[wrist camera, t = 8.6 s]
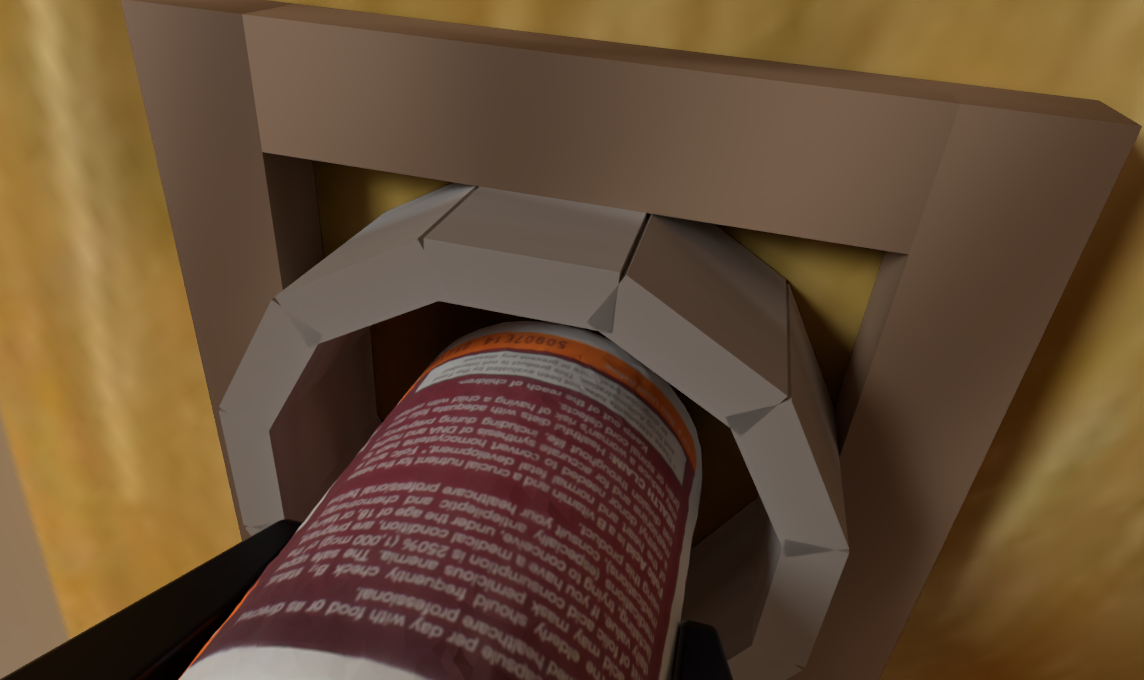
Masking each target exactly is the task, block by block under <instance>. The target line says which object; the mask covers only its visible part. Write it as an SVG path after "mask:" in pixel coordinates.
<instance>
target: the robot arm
mask: <svg viewBox="0 0 1144 680" xmlns="http://www.w3.org/2000/svg"><path fill="white" fill-rule="evenodd" d="M302 523H303V522H299V521H295V520H291V519H283V520H280V521H277V522H275V523H274V524H272V525H270V526H268V527H267V528H265V529H263V530H261V531H260V532H258V533H256V534H254V535H253V536H251V537H249V538H247V539H246V540H244V541H242V542H240V543H239V544H237V545H235V546H233V547H232V548H230V549H228V550H226V551H225V552H223V553H221V554H219V555H218V556H216V557H214V558H212V559H210V560H209V561H207V562H205V563H203V564H202V565H200V566H198V567H196V568H195V569H193V570H191V571H189V572H188V573H186V574H184V575H182V576H181V577H179V578H177V579H175V580H174V581H172V582H170V583H168V584H167V585H165V586H163V587H161V588H160V589H158V590H156V591H154V592H153V593H151V594H149V595H147V596H146V597H144V598H142V599H140V600H139V601H137V602H135V603H133V604H132V605H130V606H128V607H126V608H124V609H123V610H121V611H119V612H117V613H116V614H114V615H112V616H110V617H109V618H107V619H105V620H103V621H102V622H100V623H98V624H96V625H95V626H93V627H91V628H89V629H88V630H86V631H84V632H82V633H81V634H79V635H77V636H75V637H74V638H72V639H70V640H68V641H67V642H65V643H63V644H61V645H60V646H58V647H56V648H54V649H53V650H51V651H49V652H47V653H46V654H44V655H42V656H40V657H39V658H37V659H35V660H33V661H31V662H30V663H28V664H26V665H24V666H23V667H21V668H19V669H17V670H16V671H14V672H12V673H10V674H9V675H7V676H5V677H3V678H2V679H0V680H178V679H179V678H180V677H181V676H182V674H183V673H184V672H185V670H186V669H187V668H188V667H189V665H190V664H191V663H192V661H193V660H194V659H195V657H196V656H197V655H198V653H199V652H200V651H201V650H202V648H203V647H204V646H205V644H206V643H207V642H208V641H209V640H210V638H211V637H212V636H213V634H214V633H215V632H216V631H217V630H218V629H219V628H220V627H221V626H222V624H223V623H224V622H225V621H226V620H227V619H228V618H229V616H230V615H231V614H232V612H233V611H234V609H235V608H236V607H237V606H238V604H239V603H240V602H241V601H242V599H243V598H244V596H245V594H246V593H247V591H248V590H249V589H250V588H251V587H252V586H253V585H254V584H255V583H256V581H257V580H258V579H259V577H260V576H261V575H262V573H263V572H264V570H265V569H266V567H267V566H268V564H269V563H271V562H272V561H273V560H274V559H275V558H276V557H277V556H278V555H279V554H280V552H281V551H282V549H283V548H284V547H285V546H286V545H287V544H288V542H289V541H290V540H291V538H292V537H293V535H294V534H295V533H296V531H297V530H298V528H299V527H300V526H301V525H302ZM672 680H733V677H732V674H731V671H730V668H729V665H728V661H727V658H726V655H725V652H724V649H723V646H722V643H721V640H720V637H719V634H718V632H717V630H716V629H715V628H714V627H713V626H711V625H708V624H704V623H700V622H696V621H692V620H683V621H682V622H681V624H680V628H679V634H678V640H677V647H676V653H675V660H674V666H673V674H672Z"/></svg>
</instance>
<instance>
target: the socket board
mask: <svg viewBox="0 0 1144 680" xmlns="http://www.w3.org/2000/svg"><path fill="white" fill-rule="evenodd" d="M121 3H122V7H123V12H124V16H125V21H126V25H127V30H128V34H129V39H130V43H131V48H132V52H133V57H134V61H135V65H136V70H137V74H138V79H139V83H140V88H141V92H142V97H143V101H144V106H145V110H146V114H147V119H148V123H149V128H150V132H151V137H152V141H153V146H154V150H155V155H156V159H157V164H158V168H159V172H160V177H161V181H162V186H163V190H164V195H165V199H166V204H167V208H168V213H169V217H170V222H171V226H172V230H173V235H174V239H175V244H176V248H177V253H178V257H179V262H180V266H181V271H182V275H183V279H184V284H185V288H186V293H187V297H188V302H189V306H190V311H191V315H192V320H193V324H194V329H195V333H196V337H197V342H198V346H199V351H200V355H201V360H202V364H203V369H204V373H205V378H206V382H207V387H208V391H209V395H210V400H211V404H212V409H213V413H214V418H215V422H216V427H217V431H218V436H219V440H220V444H221V449H222V453H223V458H224V462H225V467H226V471H227V476H228V480H229V485H230V489H231V494H232V498H233V502H234V507H235V511H236V516H237V520H238V525H239V529H240V534H241V538H242V541H244V540H246V539H247V538H249V537H251V536H253V535H254V534H256V533H258V532H260V531H261V530H263V529H265V528H267V527H268V526H270V525H272V524H274V523H275V522H277V521H280V520H283V519H291V520H295V521H299V522H304V521H305V520H306V518H307V517H308V516H309V514H310V513H311V512H312V510H313V509H314V508H315V507H316V505H317V504H318V503H319V502H320V500H321V499H322V498H323V496H324V495H325V494H326V493H327V491H328V490H329V489H330V487H331V486H332V485H333V484H334V483H335V481H336V480H337V479H338V477H339V476H340V475H341V474H342V473H343V472H344V470H345V469H346V468H347V467H348V466H349V465H350V463H351V462H352V461H353V459H354V458H355V457H356V456H357V454H358V453H359V452H360V450H361V449H362V448H363V447H364V446H365V444H366V443H367V441H368V440H369V438H370V437H371V436H372V434H373V433H374V431H375V430H376V428H377V427H378V426H379V425H380V424H381V423H382V421H381V420H380V418H379V417H378V415H377V407H376V395H375V382H374V370H373V357H372V345H371V332H370V327H371V326H372V325H373V324H376V323H378V322H381V321H384V320H387V319H390V318H392V317H395V316H398V315H401V314H404V313H406V312H409V311H412V310H415V309H418V308H420V307H423V306H426V305H429V304H432V303H434V302H437V301H442V302H447V303H452V304H458V305H463V306H468V307H474V308H479V309H484V310H490V311H495V312H500V313H506V314H511V315H516V316H522V317H527V318H532V319H538V320H543V321H548V322H554V323H559V324H564V325H570V326H575V327H580V328H586V329H591V330H596V331H599V332H600V333H602V334H603V335H605V336H606V337H607V338H609V339H610V340H611V341H613V342H614V343H615V344H617V345H618V346H620V347H621V348H622V349H624V350H625V351H626V352H628V353H629V354H630V355H632V356H633V357H634V358H636V359H637V360H639V361H640V362H641V363H643V364H644V365H645V366H647V367H648V368H649V369H651V370H652V371H653V372H655V373H656V374H658V375H659V376H660V377H662V378H663V379H664V380H666V381H667V382H668V383H670V384H671V385H672V386H674V387H675V388H677V389H678V390H679V391H681V392H682V393H683V394H685V395H686V396H687V397H689V398H690V399H691V400H693V401H694V402H696V403H697V404H698V405H700V406H701V407H702V408H704V409H705V410H706V411H708V412H709V413H711V414H712V415H713V416H715V417H716V418H717V419H719V420H720V421H721V422H723V423H724V424H725V425H727V426H728V427H730V428H731V431H732V433H733V435H734V438H735V440H736V442H737V445H738V447H739V449H740V452H741V454H742V456H743V458H744V461H745V463H746V465H747V468H748V470H749V472H750V475H751V477H752V479H753V481H754V484H755V486H756V488H757V491H758V493H759V494H758V497H757V498H756V499H755V500H754V501H752V502H751V503H750V504H749V505H747V506H746V507H745V508H743V509H742V510H741V511H740V512H738V513H737V514H736V515H734V516H733V517H732V518H731V519H729V520H728V521H727V522H725V523H724V524H723V525H722V526H720V527H719V528H718V529H716V530H715V531H714V532H713V533H711V534H710V535H709V536H707V537H706V538H705V539H704V540H702V541H701V542H700V543H698V544H697V545H696V546H695V547H693V548H692V549H691V550H690V559H689V567H688V575H687V581H686V586H685V592H684V600H683V607H682V615H681V622H682V621H683V620H692V621H696V622H700V623H704V624H708V625H711V626H713V627H714V628H715V629H716V630H717V632H718V634H719V637H720V640H721V643H722V646H723V649H724V652H725V655H726V658H727V661H728V665H729V668H730V671H731V674H732V677H733V680H879V679H880V677H881V675H882V673H883V670H884V668H885V666H886V664H887V662H888V660H889V658H890V656H891V654H892V652H893V649H894V647H895V645H896V643H897V641H898V639H899V637H900V635H901V633H902V630H903V628H904V626H905V624H906V622H907V620H908V618H909V616H910V614H911V612H912V609H913V607H914V605H915V603H916V601H917V599H918V597H919V595H920V593H921V590H922V588H923V586H924V584H925V582H926V580H927V578H928V576H929V574H930V572H931V569H932V567H933V565H934V563H935V561H936V559H937V557H938V555H939V553H940V550H941V548H942V546H943V544H944V542H945V540H946V538H947V536H948V534H949V532H950V529H951V527H952V525H953V523H954V521H955V519H956V517H957V515H958V513H959V510H960V508H961V506H962V504H963V502H964V500H965V498H966V496H967V494H968V492H969V489H970V487H971V485H972V483H973V481H974V479H975V477H976V475H977V473H978V470H979V468H980V466H981V464H982V462H983V460H984V458H985V456H986V454H987V452H988V449H989V447H990V445H991V443H992V441H993V439H994V437H995V435H996V433H997V430H998V428H999V426H1000V424H1001V422H1002V420H1003V418H1004V416H1005V414H1006V412H1007V409H1008V407H1009V405H1010V403H1011V401H1012V399H1013V397H1014V395H1015V393H1016V390H1017V388H1018V386H1019V384H1020V382H1021V380H1022V378H1023V376H1024V374H1025V372H1026V369H1027V367H1028V365H1029V363H1030V361H1031V359H1032V357H1033V355H1034V353H1035V350H1036V348H1037V346H1038V344H1039V342H1040V340H1041V338H1042V336H1043V334H1044V332H1045V329H1046V327H1047V325H1048V323H1049V321H1050V319H1051V317H1052V315H1053V313H1054V311H1055V308H1056V306H1057V304H1058V302H1059V300H1060V298H1061V296H1062V294H1063V292H1064V289H1065V287H1066V285H1067V283H1068V281H1069V279H1070V277H1071V275H1072V273H1073V271H1074V268H1075V266H1076V264H1077V262H1078V260H1079V258H1080V256H1081V254H1082V252H1083V249H1084V247H1085V245H1086V243H1087V241H1088V239H1089V237H1090V235H1091V233H1092V231H1093V228H1094V226H1095V224H1096V222H1097V220H1098V218H1099V216H1100V214H1101V212H1102V209H1103V207H1104V205H1105V203H1106V201H1107V199H1108V197H1109V195H1110V193H1111V191H1112V188H1113V186H1114V184H1115V182H1116V180H1117V178H1118V176H1119V174H1120V172H1121V169H1122V167H1123V165H1124V163H1125V161H1126V159H1127V157H1128V155H1129V153H1130V151H1131V148H1132V146H1133V144H1134V142H1135V140H1136V138H1137V136H1138V134H1139V132H1140V129H1141V127H1142V126H1141V125H1139V124H1137V123H1136V122H1134V121H1132V120H1131V119H1129V118H1127V117H1126V116H1124V115H1122V114H1121V113H1119V112H1117V111H1116V110H1114V109H1112V108H1110V107H1109V106H1107V105H1105V104H1104V103H1102V102H1100V101H1097V100H1089V99H1081V98H1073V97H1064V96H1056V95H1048V94H1039V93H1031V92H1023V91H1014V90H1006V89H998V88H989V87H981V86H973V85H965V84H956V83H948V82H940V81H931V80H923V79H915V78H906V77H898V76H890V75H881V74H873V73H865V72H856V71H848V70H840V69H832V68H823V67H815V66H807V65H798V64H790V63H782V62H773V61H765V60H757V59H748V58H740V57H732V56H724V55H715V54H707V53H699V52H690V51H682V50H674V49H665V48H657V47H649V46H640V45H632V44H624V43H616V42H607V41H599V40H591V39H582V38H574V37H566V36H557V35H549V34H541V33H532V32H524V31H516V30H508V29H499V28H491V27H483V26H474V25H466V24H458V23H449V22H441V21H433V20H424V19H416V18H408V17H399V16H391V15H383V14H375V13H366V12H358V11H350V10H341V9H333V8H325V7H316V6H308V5H300V4H291V3H283V2H275V1H267V0H121ZM313 160H316V161H322V162H328V163H335V164H341V165H347V166H354V167H360V168H366V169H372V170H379V171H385V172H391V173H398V174H404V175H410V176H417V177H423V178H429V179H436V180H442V181H448V182H453V183H451V184H449V185H447V186H444V187H442V188H440V189H437V190H435V191H433V192H430V193H428V194H426V195H424V196H421V197H419V198H417V199H414V200H412V201H410V202H407V203H405V204H403V205H400V206H398V207H396V208H394V209H391V210H389V211H387V212H385V213H384V214H382V215H381V216H380V217H378V218H377V219H376V220H374V221H373V222H372V223H370V224H369V225H368V226H367V227H365V228H364V229H363V230H361V231H360V232H359V233H357V234H356V235H355V236H353V237H352V238H351V239H350V240H348V241H347V242H346V243H344V244H343V245H342V246H340V247H339V248H338V249H336V250H335V251H334V252H333V253H331V254H330V255H329V256H327V257H326V258H325V259H324V258H323V249H322V240H321V231H320V222H319V213H318V204H317V195H316V186H315V177H314V168H313ZM715 224H719V225H726V226H732V227H738V228H745V229H751V230H757V231H764V232H770V233H776V234H782V235H789V236H795V237H801V238H808V239H814V240H820V241H827V242H833V243H839V244H846V245H852V246H858V247H864V248H871V249H877V250H883V251H885V253H884V256H883V259H882V262H881V265H880V268H879V272H878V275H877V278H876V281H875V284H874V287H873V290H872V293H871V296H870V299H869V303H868V306H867V309H866V312H865V315H864V318H863V321H862V324H861V327H860V330H859V334H858V337H857V340H856V343H855V346H854V349H853V352H852V355H851V358H850V361H849V365H848V368H847V371H846V374H845V377H844V380H843V383H842V386H841V389H840V392H839V396H838V399H837V402H836V405H835V408H834V406H833V403H832V400H831V398H830V395H829V392H828V389H827V387H826V384H825V381H824V378H823V376H822V373H821V370H820V367H819V365H818V362H817V359H816V356H815V354H814V351H813V348H812V345H811V343H810V340H809V337H808V334H807V332H806V329H805V326H804V323H803V321H802V318H801V315H800V313H799V310H798V307H797V304H796V302H795V299H794V296H793V293H792V291H791V288H790V285H789V284H786V279H785V278H783V277H782V276H781V275H780V274H778V273H777V272H776V271H774V270H773V269H772V268H771V267H769V266H768V265H767V264H765V263H764V262H763V261H761V260H760V259H759V258H758V257H756V256H755V255H754V254H752V253H751V252H750V251H749V250H747V249H746V248H745V247H743V246H742V245H741V244H740V243H738V242H737V241H736V240H734V239H733V238H732V237H731V236H729V235H728V234H727V233H725V232H724V231H723V230H721V229H720V228H719V227H718V226H716V225H715ZM680 624H681V623H680Z"/></svg>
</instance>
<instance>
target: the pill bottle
mask: <svg viewBox="0 0 1144 680" xmlns="http://www.w3.org/2000/svg"><path fill="white" fill-rule="evenodd" d="M701 485H702V459H701V447H700V444H699V440H698V435H697V431H696V428H695V426H694V424H693V422H692V419H691V417H690V415H689V413H688V412H687V410H686V408H685V406H684V405H683V403H682V402H681V401H680V399H679V398H678V396H677V395H676V393H675V392H674V390H673V389H672V388H671V387H670V385H669V384H668V383H667V382H666V381H665V380H664V379H663V378H662V377H660V376H659V375H658V374H656V373H655V372H653V371H652V370H651V369H649V368H648V367H647V366H645V365H644V364H643V363H641V362H640V361H639V360H637V359H636V358H634V357H633V356H632V355H630V354H629V353H628V352H626V351H625V350H624V349H622V348H621V347H620V346H618V345H617V344H615V343H614V342H613V341H611V340H610V339H607V338H605V337H602V336H600V335H597V334H595V333H592V332H590V331H587V330H584V329H579V328H574V327H569V326H567V325H557V324H553V323H548V322H540V321H515V322H502V323H498V324H495V325H491V326H487V327H484V328H481V329H478V330H476V331H473V332H471V333H469V334H466V335H464V336H462V337H461V338H459V339H457V340H456V341H454V342H453V343H452V344H450V345H449V346H448V347H447V348H445V349H444V350H443V351H442V352H441V353H440V354H439V355H438V356H437V357H436V358H435V359H434V360H433V361H432V362H431V363H430V365H429V366H428V367H427V368H426V369H425V371H424V372H423V373H422V375H421V376H420V377H419V378H418V379H417V381H416V382H415V383H414V384H413V385H412V387H411V388H410V389H409V390H408V392H407V393H406V394H405V395H404V396H403V398H402V399H401V400H400V402H399V403H398V404H397V405H396V407H395V408H394V409H393V410H392V411H391V413H390V414H389V415H388V416H387V417H386V419H385V420H384V421H383V422H382V423H381V424H380V425H379V426H378V427H377V428H376V430H375V431H374V433H373V434H372V436H371V437H370V438H369V440H368V441H367V443H366V444H365V446H364V447H363V448H362V449H361V450H360V452H359V453H358V454H357V456H356V457H355V458H354V459H353V461H352V462H351V463H350V465H349V466H348V467H347V468H346V469H345V470H344V472H343V473H342V474H341V475H340V476H339V477H338V479H337V480H336V481H335V483H334V484H333V485H332V486H331V487H330V489H329V490H328V491H327V493H326V494H325V495H324V496H323V498H322V499H321V500H320V502H319V503H318V504H317V505H316V507H315V508H314V509H313V510H312V512H311V513H310V514H309V516H308V517H307V518H306V520H305V521H304V522H303V523H302V525H301V526H300V527H299V528H298V530H297V531H296V533H295V534H294V535H293V537H292V538H291V540H290V541H289V542H288V544H287V545H286V546H285V547H284V548H283V549H282V551H281V552H280V554H279V555H278V556H277V557H276V558H275V559H274V560H273V561H272V562H271V563H269V564H268V566H267V567H266V569H265V570H264V572H263V573H262V575H261V576H260V577H259V579H258V580H257V581H256V583H255V584H254V585H253V586H252V587H251V588H250V589H249V590H248V591H247V593H246V594H245V596H244V598H243V599H242V601H241V602H240V603H239V604H238V606H237V607H236V608H235V609H234V611H233V612H232V614H231V615H230V616H229V618H228V619H227V620H226V621H225V622H224V623H223V624H222V626H221V627H220V628H219V629H218V630H217V631H216V632H215V633H214V634H213V636H212V637H211V638H210V640H209V641H208V642H207V643H206V644H205V646H204V647H203V648H202V650H201V651H200V652H199V653H198V655H197V656H196V657H195V659H194V660H193V661H192V663H191V664H190V665H189V667H188V668H187V669H186V670H185V672H184V673H183V674H182V676H181V677H180V678H179V679H178V680H672V674H673V666H674V660H675V653H676V647H677V640H678V634H679V628H680V623H681V615H682V607H683V600H684V592H685V586H686V581H687V575H688V567H689V559H690V550H691V545H692V540H693V535H694V531H695V526H696V522H697V517H698V508H699V502H700V494H701Z"/></svg>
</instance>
